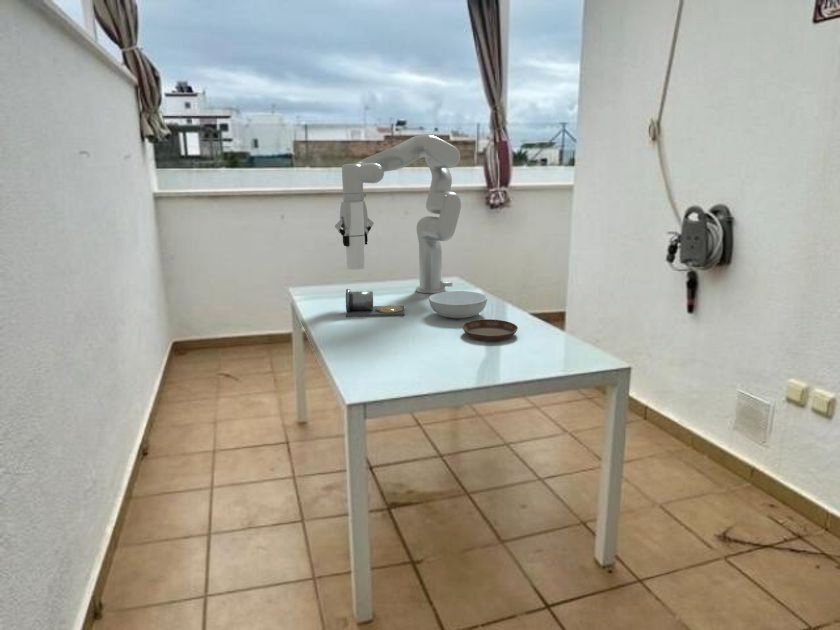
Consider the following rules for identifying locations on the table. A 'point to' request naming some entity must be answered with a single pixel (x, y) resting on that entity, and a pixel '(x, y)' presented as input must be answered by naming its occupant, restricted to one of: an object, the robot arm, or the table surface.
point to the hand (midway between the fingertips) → (355, 244)
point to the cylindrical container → (356, 238)
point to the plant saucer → (489, 330)
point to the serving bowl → (458, 303)
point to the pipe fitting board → (373, 313)
